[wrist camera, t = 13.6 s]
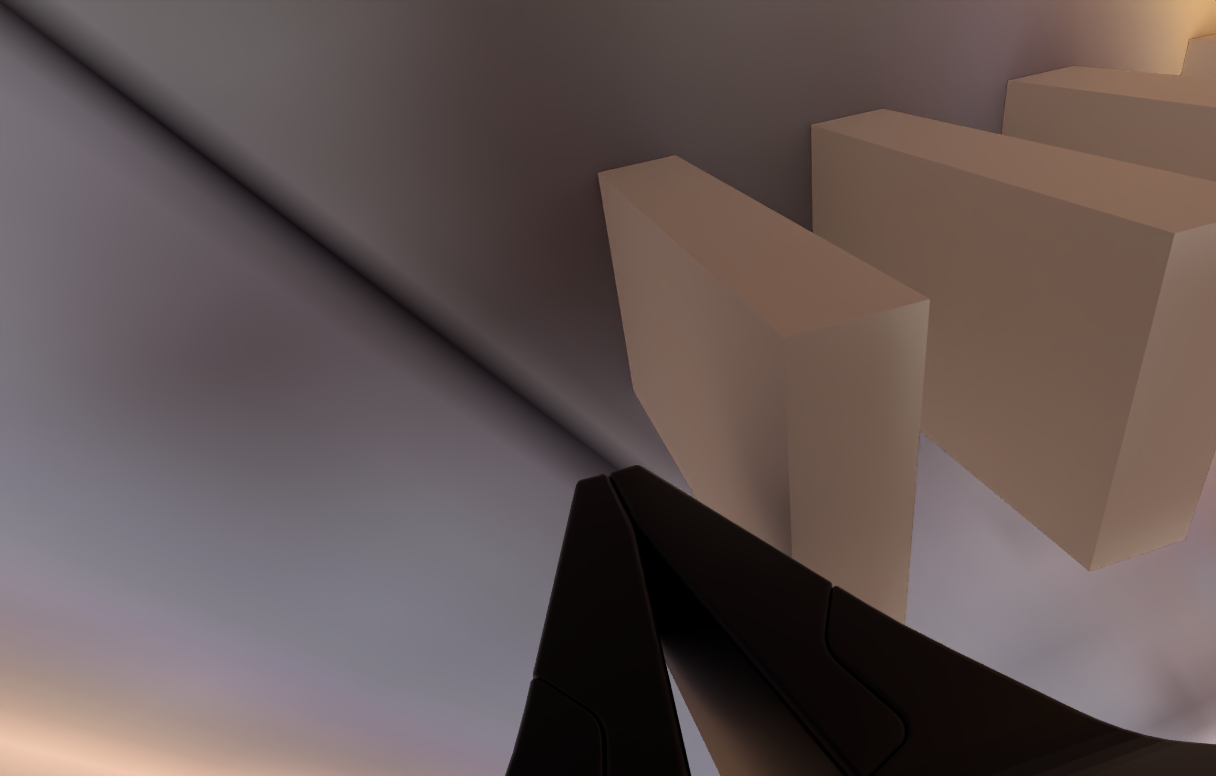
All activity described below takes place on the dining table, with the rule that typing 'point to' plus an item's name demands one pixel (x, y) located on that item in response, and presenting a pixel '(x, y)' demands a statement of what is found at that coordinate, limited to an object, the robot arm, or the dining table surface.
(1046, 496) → the domino
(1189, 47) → the domino
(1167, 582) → the dining table surface
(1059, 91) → the domino
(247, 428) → the dining table surface
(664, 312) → the domino
